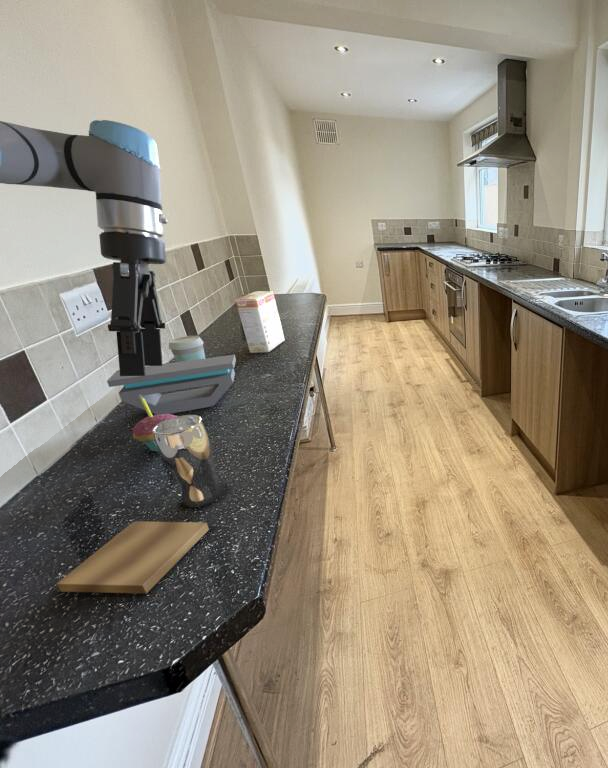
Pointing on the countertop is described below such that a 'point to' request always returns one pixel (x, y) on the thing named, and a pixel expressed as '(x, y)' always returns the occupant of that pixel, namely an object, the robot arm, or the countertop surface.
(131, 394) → the grey tapered box
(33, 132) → the robot arm
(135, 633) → the countertop surface
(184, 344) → the coffee cup
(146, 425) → the cupcake
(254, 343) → the coffeecake box
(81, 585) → the serving board
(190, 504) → the beer glass
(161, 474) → the countertop surface
